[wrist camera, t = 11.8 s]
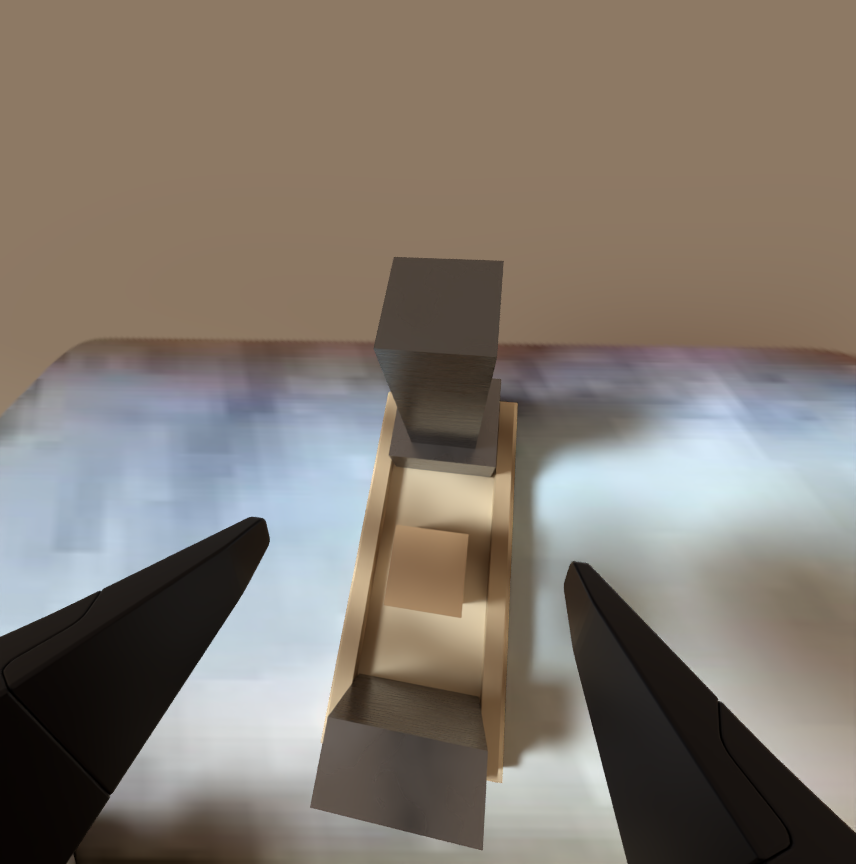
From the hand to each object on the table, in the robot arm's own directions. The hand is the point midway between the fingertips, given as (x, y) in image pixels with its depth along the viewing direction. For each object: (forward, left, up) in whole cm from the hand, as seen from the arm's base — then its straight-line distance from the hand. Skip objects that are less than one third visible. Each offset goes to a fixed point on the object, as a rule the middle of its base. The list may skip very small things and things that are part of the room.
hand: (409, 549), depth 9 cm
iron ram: (+5, -6, -12) cm, 14 cm away
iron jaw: (-6, +7, -12) cm, 15 cm away
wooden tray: (0, 0, -13) cm, 13 cm away
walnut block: (-1, +1, -12) cm, 12 cm away
